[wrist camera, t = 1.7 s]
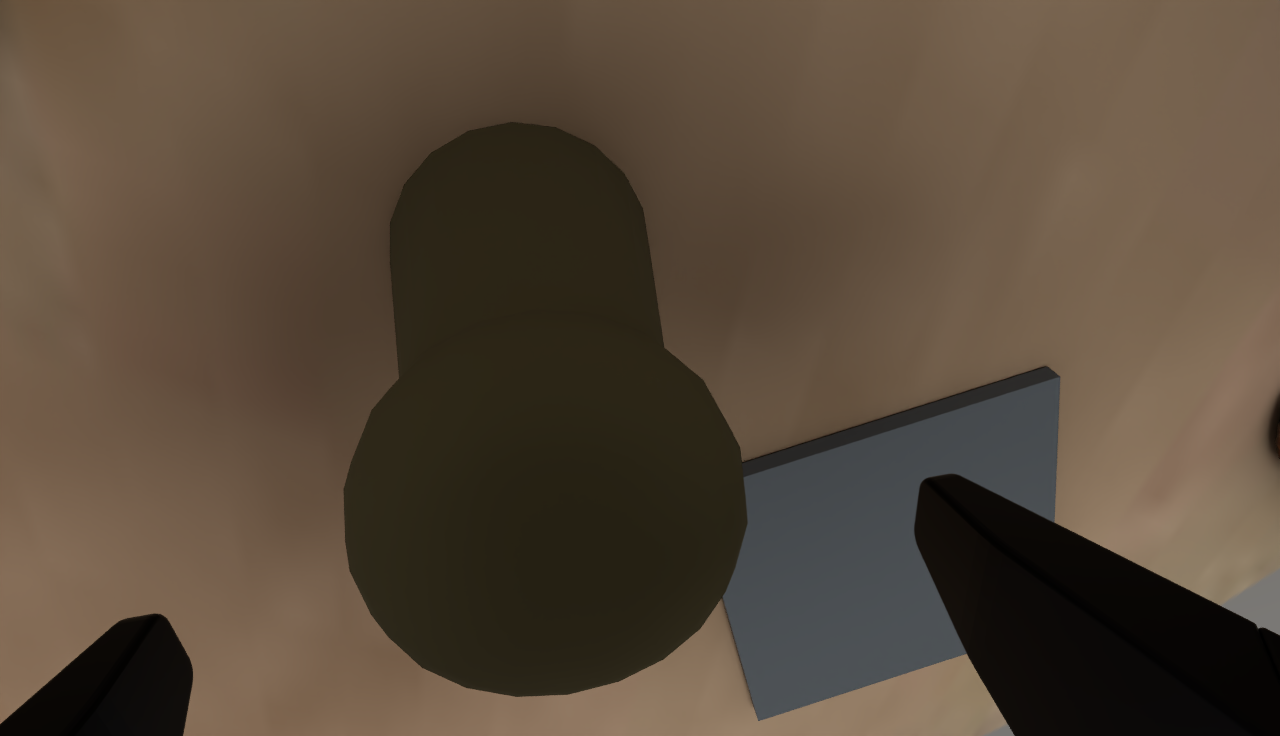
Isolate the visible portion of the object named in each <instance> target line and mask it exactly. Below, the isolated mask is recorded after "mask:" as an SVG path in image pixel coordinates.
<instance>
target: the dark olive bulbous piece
mask: <svg viewBox="0 0 1280 736" xmlns="http://www.w3.org/2000/svg"><path fill="white" fill-rule="evenodd" d="M390 268H391V281H392V294H393V306H394V319H395V332H396V344H397V357H398V370H399V379H398V381H397V382H396V383H395V384H394V385H393V386H392V387H391V388H390V389H389V390H388V391H387V393H386V394H385V395H384V396H383V397H382V399H381V400H380V401H379V402H378V403H377V405H376V406H375V407H374V408H373V409H372V411H371V413H370V416H369V419H368V421H367V424H366V426H365V429H364V431H363V434H362V436H361V439H360V441H359V444H358V446H357V449H356V451H355V454H354V456H353V459H352V461H351V465H350V469H349V472H348V476H347V479H346V483H345V486H344V515H345V542H346V549H347V556H348V562H349V569H350V572H351V574H352V576H353V578H354V581H355V583H356V585H357V587H358V589H359V591H360V593H361V595H362V597H363V599H364V601H365V603H366V605H367V607H368V609H369V611H370V613H371V615H372V616H373V618H374V619H375V620H376V622H377V623H378V624H379V625H380V627H381V628H382V629H383V631H384V632H385V633H386V635H387V636H388V637H389V638H390V639H391V640H392V641H393V642H395V643H396V644H397V645H398V646H399V647H400V648H401V649H402V650H403V651H404V652H405V653H407V654H408V655H409V656H410V657H411V658H412V659H413V660H414V661H415V662H416V663H418V664H419V665H420V666H421V667H422V668H424V669H426V670H428V671H431V672H433V673H435V674H437V675H439V676H442V677H444V678H446V679H448V680H450V681H452V682H455V683H457V684H459V685H461V686H463V687H466V688H470V689H476V690H481V691H487V692H492V693H498V694H504V695H509V696H515V697H522V696H545V695H568V694H572V693H576V692H580V691H584V690H588V689H592V688H596V687H599V686H603V685H607V684H611V683H615V682H619V681H621V680H623V679H625V678H627V677H629V676H631V675H633V674H635V673H637V672H639V671H641V670H643V669H645V668H647V667H649V666H651V665H653V664H655V663H657V662H659V661H661V660H663V659H664V658H666V657H667V656H668V655H669V654H670V653H672V652H673V651H674V650H675V649H676V648H678V647H679V646H680V645H681V644H682V643H684V642H685V641H686V640H687V639H688V638H690V637H691V636H692V635H693V634H695V633H696V632H697V631H698V630H699V629H700V628H701V627H702V625H703V624H704V623H705V621H706V620H707V618H708V617H709V615H710V614H711V612H712V611H713V610H714V608H715V607H716V605H717V604H718V602H719V601H720V599H721V598H722V596H723V595H724V594H725V592H726V590H727V587H728V585H729V582H730V580H731V577H732V575H733V573H734V570H735V567H736V564H737V560H738V557H739V553H740V549H741V546H742V542H743V539H744V535H745V531H746V528H747V524H748V519H747V507H746V495H745V486H744V478H743V469H742V460H741V451H740V447H739V445H738V443H737V441H736V439H735V437H734V435H733V433H732V431H731V429H730V427H729V425H728V424H727V422H726V420H725V418H724V416H723V415H722V413H721V411H720V409H719V407H718V406H717V404H716V402H715V400H714V399H713V397H712V395H711V393H710V391H709V390H708V388H707V386H706V384H705V383H704V381H703V379H701V378H700V377H699V376H698V375H696V374H695V373H694V372H693V371H692V370H690V369H689V368H688V367H687V366H686V365H684V364H683V363H682V362H681V361H680V360H678V359H677V358H676V357H675V356H673V355H672V354H671V353H670V352H669V351H667V350H666V349H665V348H664V343H663V336H662V329H661V323H660V316H659V309H658V303H657V296H656V289H655V283H654V276H653V269H652V263H651V256H650V249H649V243H648V237H647V231H646V224H645V218H644V212H643V208H642V206H641V204H640V202H639V200H638V198H637V196H636V195H635V193H634V191H633V189H632V187H631V185H630V183H629V181H628V180H627V178H626V176H625V174H624V173H623V172H622V171H621V170H620V169H619V168H618V167H617V166H616V165H615V164H613V163H612V162H611V161H610V160H609V159H608V158H607V157H606V156H605V155H604V154H603V153H602V152H601V151H600V150H599V149H598V148H596V147H595V146H594V145H592V144H590V143H588V142H586V141H584V140H581V139H579V138H577V137H575V136H573V135H571V134H569V133H566V132H564V131H562V130H560V129H558V128H556V127H548V126H539V125H531V124H523V123H514V122H510V123H506V124H501V125H496V126H491V127H486V128H481V129H476V130H471V131H468V132H466V133H464V134H463V135H461V136H459V137H458V138H456V139H454V140H452V141H451V142H449V143H447V144H446V145H444V146H442V147H440V148H439V149H437V150H435V151H434V152H432V153H431V154H430V155H429V156H428V157H427V158H426V160H425V161H424V162H423V163H422V164H421V166H420V167H419V168H418V169H417V170H416V171H415V173H414V174H413V175H412V176H411V177H410V179H409V180H408V181H407V182H406V183H405V184H404V187H403V189H402V192H401V195H400V197H399V200H398V203H397V206H396V208H395V211H394V214H393V217H392V219H391V222H390Z"/></svg>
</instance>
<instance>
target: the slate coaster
mask: <svg viewBox="0 0 1280 736" xmlns="http://www.w3.org/2000/svg"><path fill="white" fill-rule="evenodd" d="M1059 393H1060V376H1059V375H1057V374H1056V373H1055V372H1054V371H1052V370H1051V369H1050V368H1049V367H1044V368H1041V369H1037V370H1034V371H1031V372H1028V373H1025V374H1022V375H1018V376H1015V377H1012V378H1009V379H1006V380H1003V381H1000V382H996V383H993V384H990V385H987V386H984V387H981V388H978V389H974V390H971V391H968V392H965V393H962V394H959V395H956V396H952V397H949V398H946V399H943V400H940V401H937V402H933V403H930V404H927V405H924V406H921V407H918V408H915V409H911V410H908V411H905V412H902V413H899V414H896V415H893V416H889V417H886V418H883V419H880V420H877V421H874V422H870V423H867V424H864V425H861V426H858V427H855V428H852V429H848V430H845V431H842V432H839V433H836V434H833V435H830V436H826V437H823V438H820V439H817V440H814V441H811V442H808V443H804V444H801V445H798V446H795V447H792V448H789V449H785V450H782V451H779V452H776V453H773V454H770V455H767V456H763V457H760V458H757V459H754V460H751V461H748V462H745V463H742V469H743V478H744V486H745V495H746V507H747V519H748V524H747V528H746V531H745V535H744V539H743V542H742V546H741V549H740V553H739V557H738V560H737V564H736V567H735V570H734V573H733V575H732V577H731V580H730V582H729V585H728V587H727V590H726V592H725V594H724V595H723V596H722V599H723V603H724V606H725V610H726V613H727V617H728V620H729V624H730V627H731V631H732V634H733V637H734V641H735V644H736V648H737V651H738V655H739V658H740V662H741V665H742V669H743V672H744V676H745V679H746V682H747V686H748V689H749V693H750V696H751V700H752V703H753V707H754V710H755V713H756V715H757V718H758V721H760V720H763V719H766V718H770V717H773V716H776V715H779V714H782V713H785V712H788V711H791V710H794V709H797V708H800V707H803V706H807V705H810V704H813V703H816V702H819V701H822V700H825V699H828V698H831V697H834V696H837V695H840V694H844V693H847V692H850V691H853V690H856V689H859V688H862V687H865V686H868V685H871V684H874V683H877V682H881V681H884V680H887V679H890V678H893V677H896V676H899V675H902V674H905V673H908V672H911V671H914V670H918V669H921V668H924V667H927V666H930V665H933V664H936V663H939V662H942V661H945V660H948V659H951V658H955V657H958V656H961V655H964V654H967V653H966V651H965V649H964V647H963V645H962V643H961V641H960V639H959V637H958V635H957V632H956V630H955V628H954V626H953V624H952V621H951V619H950V617H949V615H948V613H947V611H946V608H945V606H944V604H943V602H942V600H941V597H940V595H939V593H938V591H937V589H936V586H935V584H934V582H933V580H932V578H931V575H930V573H929V571H928V569H927V567H926V564H925V562H924V560H923V558H922V556H921V553H920V551H919V549H918V547H917V544H916V540H915V535H914V523H915V516H916V508H917V501H918V493H919V487H920V484H921V482H922V481H923V480H924V479H926V478H928V477H933V476H939V475H944V474H958V475H960V476H962V477H964V478H966V479H968V480H970V481H972V482H974V483H976V484H978V485H980V486H982V487H984V488H986V489H988V490H990V491H992V492H994V493H996V494H998V495H1000V496H1002V497H1004V498H1006V499H1008V500H1010V501H1012V502H1014V503H1016V504H1018V505H1020V506H1022V507H1024V508H1026V509H1028V510H1030V511H1032V512H1034V513H1036V514H1038V515H1040V516H1042V517H1044V518H1046V519H1048V520H1050V521H1052V522H1054V519H1055V494H1056V469H1057V443H1058V418H1059Z"/></svg>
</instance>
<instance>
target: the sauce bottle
mask: <svg viewBox="0 0 1280 736" xmlns="http://www.w3.org/2000/svg"><path fill="white" fill-rule="evenodd" d="M1275 444H1276V445H1277V453H1278V457H1279V459H1280V422H1279V424H1278V431H1277V437H1276V439H1275Z"/></svg>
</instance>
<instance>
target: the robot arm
mask: <svg viewBox="0 0 1280 736" xmlns="http://www.w3.org/2000/svg"><path fill="white" fill-rule="evenodd" d="M914 535H915V540H916V544H917V547H918V549H919V551H920V553H921V556H922V558H923V560H924V562H925V564H926V567H927V569H928V571H929V573H930V575H931V578H932V580H933V582H934V584H935V586H936V589H937V591H938V593H939V595H940V597H941V600H942V602H943V604H944V606H945V608H946V611H947V613H948V615H949V617H950V619H951V621H952V624H953V626H954V628H955V630H956V632H957V635H958V637H959V639H960V641H961V643H962V645H963V647H964V649H965V651H966V653H967V655H968V657H969V659H970V660H971V662H972V664H973V666H974V668H975V669H976V671H977V673H978V675H979V676H980V678H981V680H982V681H983V683H984V685H985V686H986V688H987V690H988V692H989V693H990V695H991V697H992V698H993V700H994V702H995V703H996V705H997V707H998V708H999V710H1000V712H1001V713H1002V715H1003V717H1004V719H1005V720H1006V722H1007V724H1008V725H1009V727H1010V729H1011V730H1012V732H1013V734H1014V735H1015V736H1280V635H1278V634H1276V633H1274V632H1272V631H1270V630H1268V629H1266V628H1259V629H1258V628H1257V626H1256V624H1255V623H1253V622H1251V621H1249V620H1248V619H1246V618H1243V617H1242V616H1240V615H1238V614H1236V613H1233V612H1232V611H1230V610H1228V609H1226V608H1224V607H1222V606H1220V605H1218V604H1216V603H1214V602H1212V601H1210V600H1208V599H1206V598H1204V597H1202V596H1200V595H1198V594H1196V593H1194V592H1192V591H1190V590H1188V589H1186V588H1184V587H1182V586H1180V585H1178V584H1176V583H1174V582H1172V581H1170V580H1168V579H1166V578H1164V577H1162V576H1160V575H1158V574H1156V573H1154V572H1152V571H1150V570H1148V569H1146V568H1144V567H1142V566H1140V565H1138V564H1136V563H1134V562H1132V561H1130V560H1128V559H1126V558H1124V557H1122V556H1120V555H1118V554H1116V553H1114V552H1112V551H1110V550H1108V549H1106V548H1104V547H1102V546H1100V545H1098V544H1096V543H1094V542H1092V541H1090V540H1088V539H1086V538H1084V537H1082V536H1080V535H1078V534H1076V533H1074V532H1072V531H1070V530H1068V529H1066V528H1064V527H1062V526H1060V525H1058V524H1056V523H1054V522H1052V521H1050V520H1048V519H1046V518H1044V517H1042V516H1040V515H1038V514H1036V513H1034V512H1032V511H1030V510H1028V509H1026V508H1024V507H1022V506H1020V505H1018V504H1016V503H1014V502H1012V501H1010V500H1008V499H1006V498H1004V497H1002V496H1000V495H998V494H996V493H994V492H992V491H990V490H988V489H986V488H984V487H982V486H980V485H978V484H976V483H974V482H972V481H970V480H968V479H966V478H964V477H962V476H960V475H958V474H944V475H939V476H933V477H928V478H926V479H924V480H923V481H922V482H921V484H920V487H919V493H918V501H917V508H916V516H915V523H914ZM192 683H193V669H192V664H191V661H190V658H189V657H188V655H187V653H186V651H185V649H184V647H183V646H182V644H181V642H180V640H179V638H178V637H177V635H176V633H175V631H174V629H173V628H172V626H171V624H170V622H169V621H168V619H167V618H166V617H164V616H163V615H161V614H149V615H143V616H137V617H132V618H127V619H124V620H121V621H119V622H117V623H116V624H115V625H114V626H112V627H111V628H110V629H109V630H108V631H107V632H105V633H104V634H103V635H102V636H101V637H100V638H99V639H97V640H96V641H95V642H94V643H93V644H92V645H90V646H89V647H88V648H87V649H86V650H85V651H84V652H82V653H81V654H80V655H79V656H78V657H77V658H76V659H74V660H73V661H72V662H71V663H70V664H69V665H68V666H66V667H65V668H64V669H63V670H62V671H61V672H60V673H58V674H57V675H56V676H55V677H54V678H53V679H51V680H50V681H49V682H48V683H47V684H46V685H45V686H43V687H42V688H41V689H40V690H39V691H38V692H37V693H35V694H34V695H33V696H32V697H31V698H30V699H29V700H27V701H26V702H25V703H24V704H23V705H22V706H21V707H19V708H18V709H17V710H16V711H15V712H14V713H12V714H11V715H10V716H9V717H8V718H7V719H6V720H4V721H3V722H2V723H1V724H0V736H183V734H184V728H185V722H186V717H187V711H188V706H189V700H190V694H191V689H192Z"/></svg>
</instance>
